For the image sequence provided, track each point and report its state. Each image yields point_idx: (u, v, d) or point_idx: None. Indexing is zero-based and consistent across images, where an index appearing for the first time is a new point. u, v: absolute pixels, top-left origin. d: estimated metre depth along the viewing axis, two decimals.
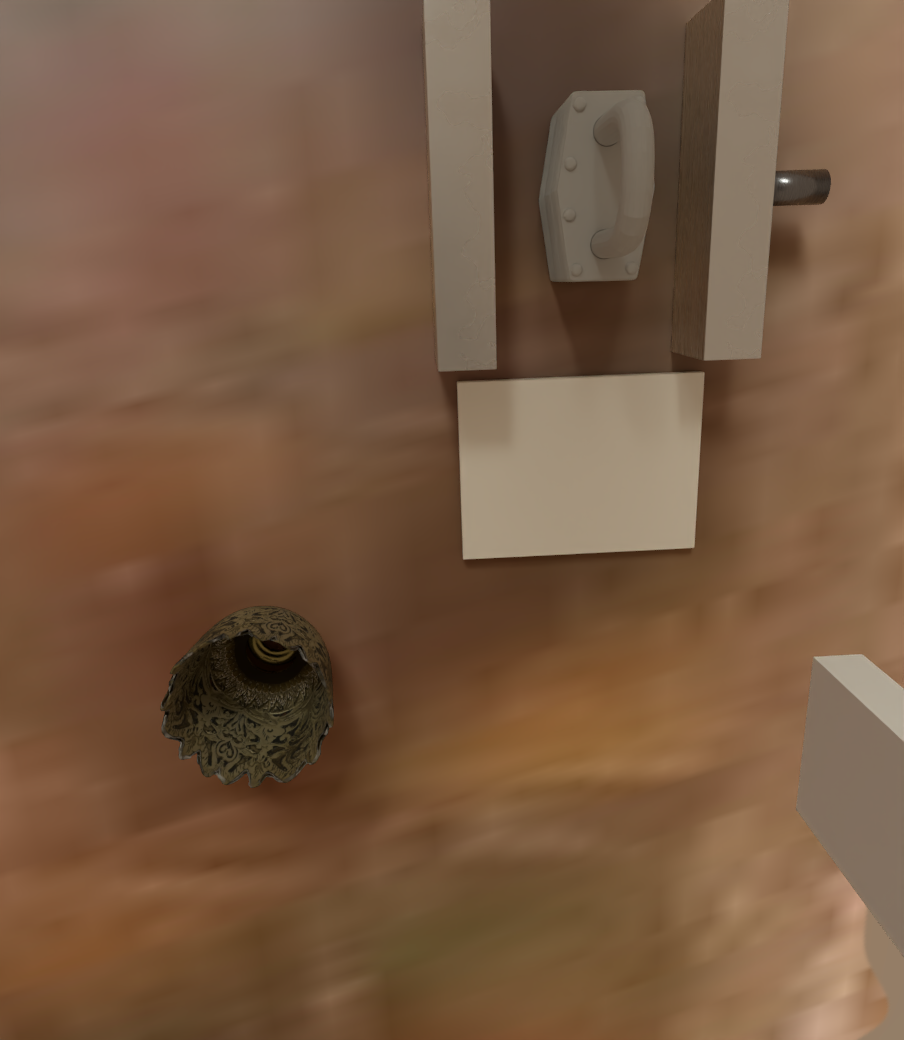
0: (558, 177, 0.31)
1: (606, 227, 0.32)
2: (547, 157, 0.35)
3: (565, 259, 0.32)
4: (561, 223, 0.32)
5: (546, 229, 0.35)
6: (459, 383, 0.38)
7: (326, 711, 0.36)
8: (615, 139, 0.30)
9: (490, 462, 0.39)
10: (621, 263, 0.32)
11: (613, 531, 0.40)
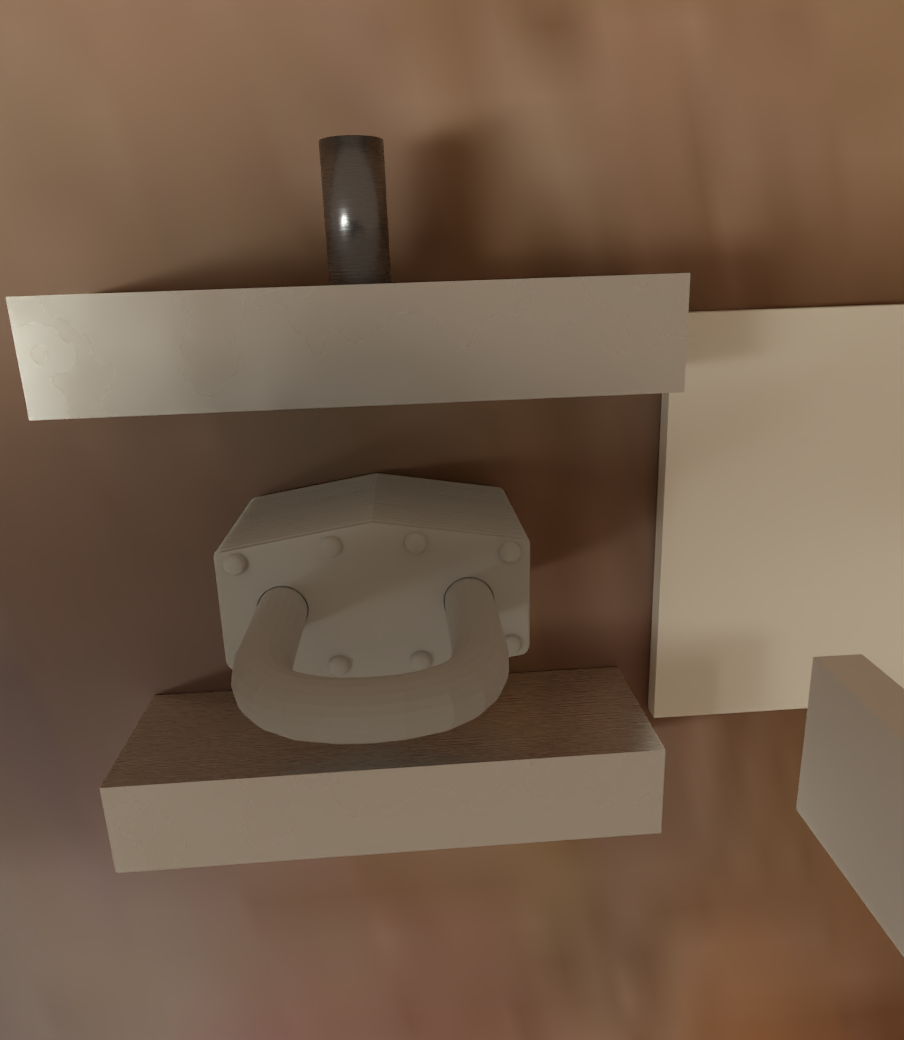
0: None
1: (440, 599, 0.18)
2: None
3: None
4: None
5: None
6: (655, 715, 0.24)
7: None
8: (299, 637, 0.16)
9: (785, 665, 0.24)
10: (501, 568, 0.18)
11: None
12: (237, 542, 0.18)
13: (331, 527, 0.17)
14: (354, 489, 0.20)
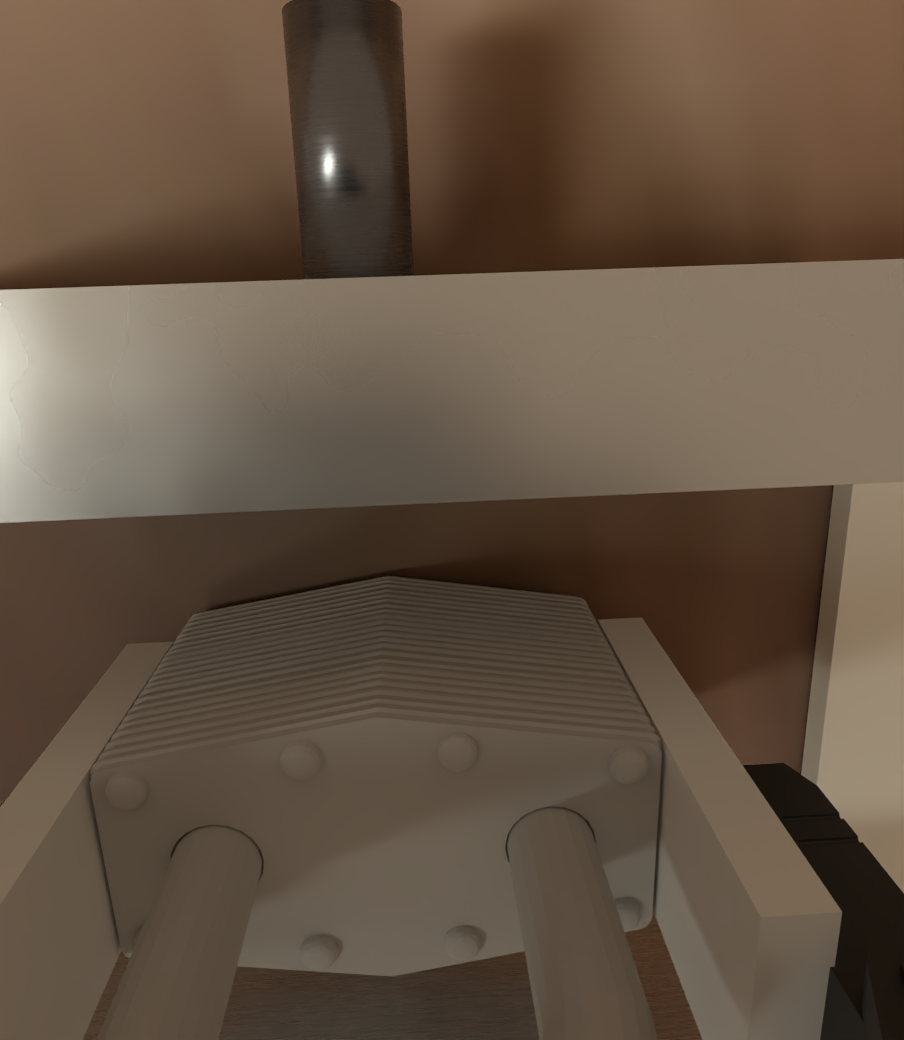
0: (358, 965, 0.11)
1: (500, 842, 0.10)
2: None
3: None
4: (485, 952, 0.11)
5: None
6: None
7: None
8: (237, 958, 0.09)
9: None
10: (611, 792, 0.10)
11: None
12: (137, 741, 0.10)
13: (303, 723, 0.10)
14: (351, 612, 0.13)
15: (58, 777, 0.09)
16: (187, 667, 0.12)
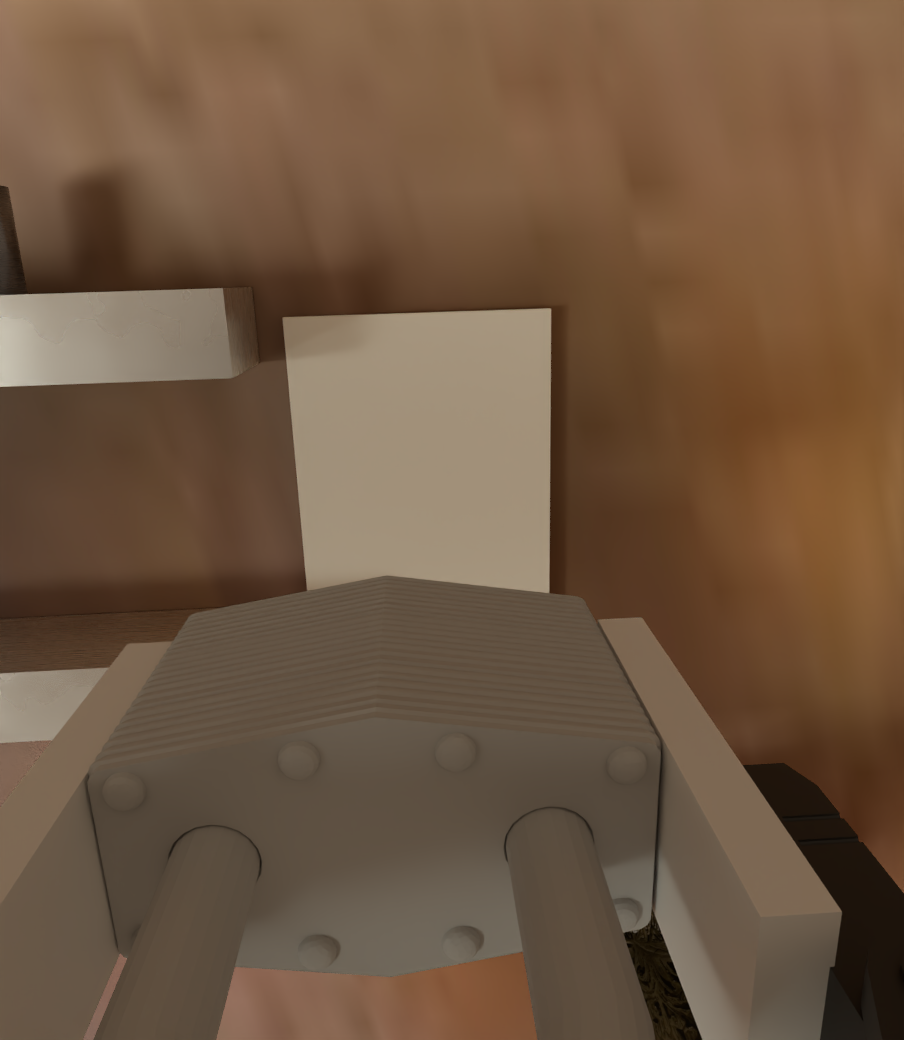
0: None
1: (498, 842, 0.10)
2: None
3: None
4: (484, 953, 0.11)
5: None
6: None
7: None
8: (234, 959, 0.09)
9: None
10: (609, 792, 0.10)
11: (519, 434, 0.28)
12: (134, 741, 0.10)
13: (301, 722, 0.10)
14: (349, 612, 0.13)
15: (58, 777, 0.09)
16: (185, 667, 0.12)
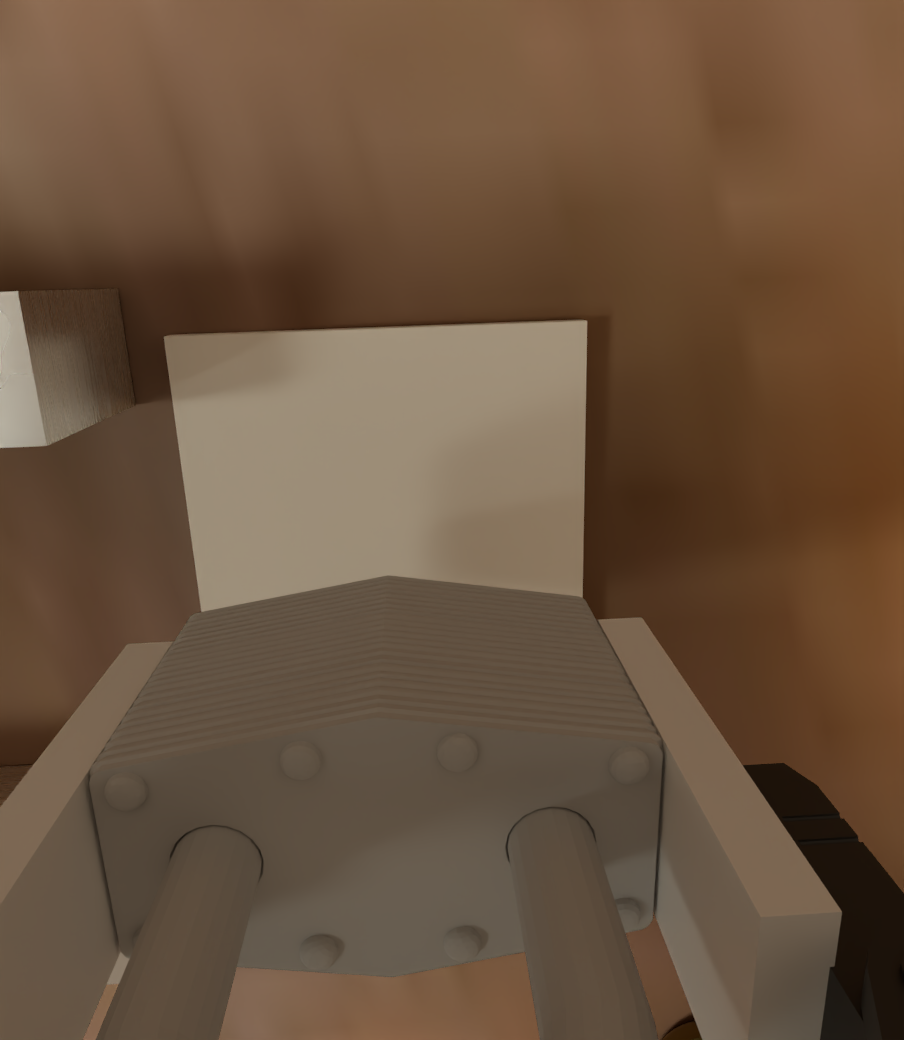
0: (358, 966, 0.11)
1: (500, 842, 0.10)
2: None
3: None
4: (486, 953, 0.11)
5: None
6: None
7: None
8: (236, 959, 0.09)
9: None
10: (611, 792, 0.10)
11: (536, 512, 0.18)
12: (136, 741, 0.10)
13: (303, 723, 0.10)
14: (350, 612, 0.13)
15: (58, 777, 0.09)
16: (187, 667, 0.12)
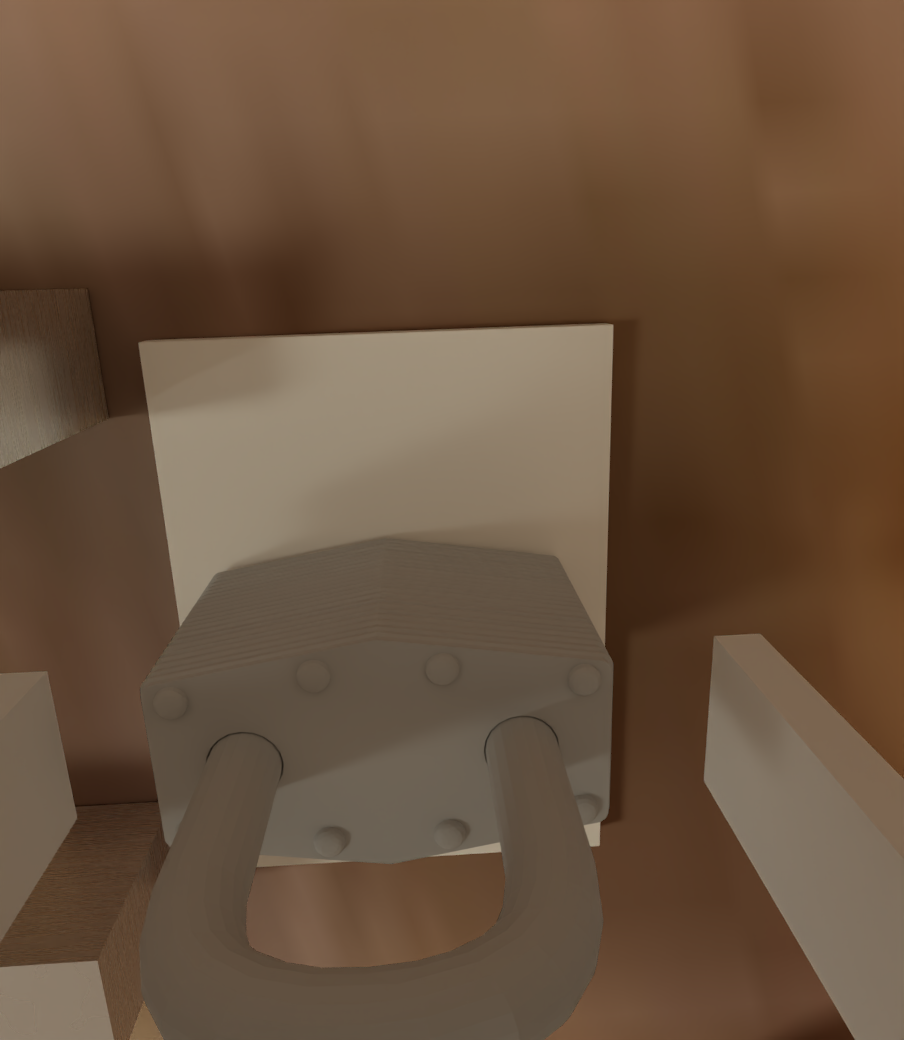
0: None
1: (479, 746, 0.12)
2: None
3: None
4: None
5: None
6: None
7: None
8: (264, 829, 0.11)
9: None
10: (571, 703, 0.12)
11: (554, 537, 0.16)
12: (177, 665, 0.12)
13: (315, 646, 0.12)
14: (353, 567, 0.15)
15: None
16: (215, 611, 0.14)
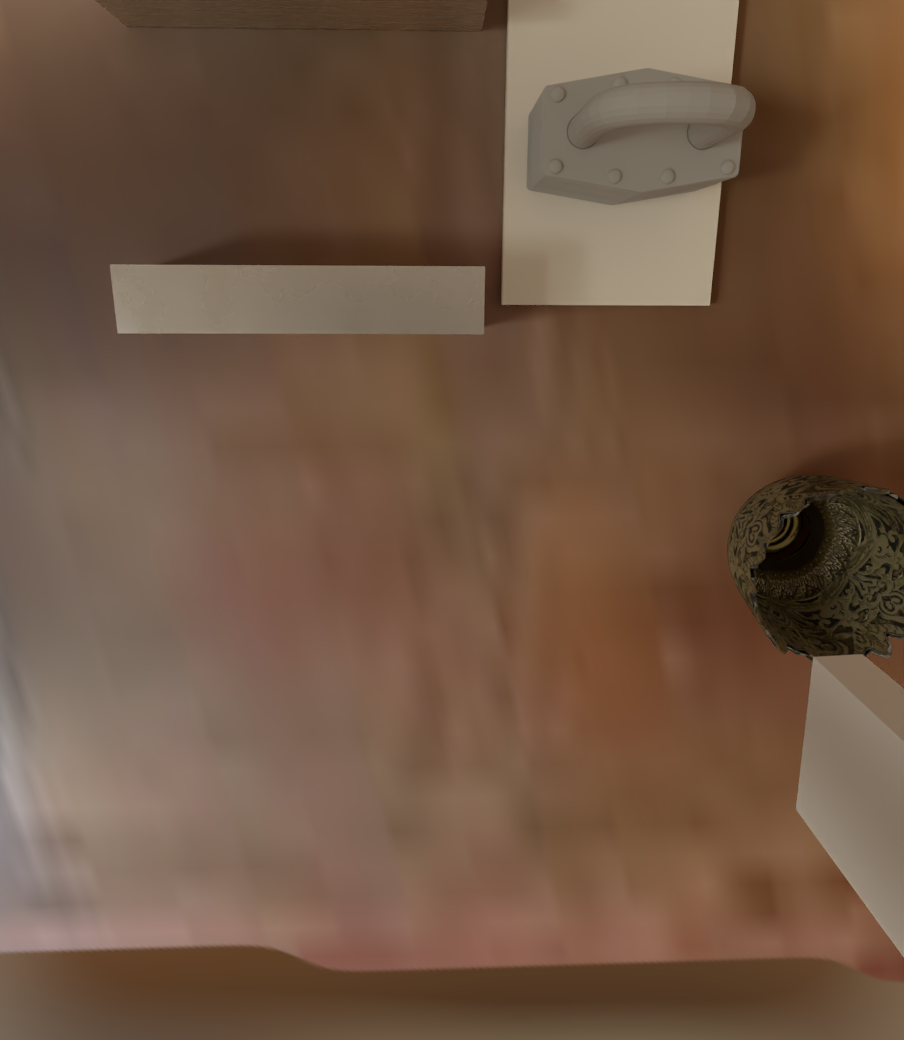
0: (626, 190, 0.28)
1: (685, 129, 0.27)
2: (572, 195, 0.32)
3: (712, 180, 0.28)
4: (674, 186, 0.28)
5: (648, 197, 0.32)
6: (503, 302, 0.34)
7: None
8: None
9: (596, 268, 0.33)
10: None
11: None
12: None
13: (620, 73, 0.27)
14: None
15: None
16: None
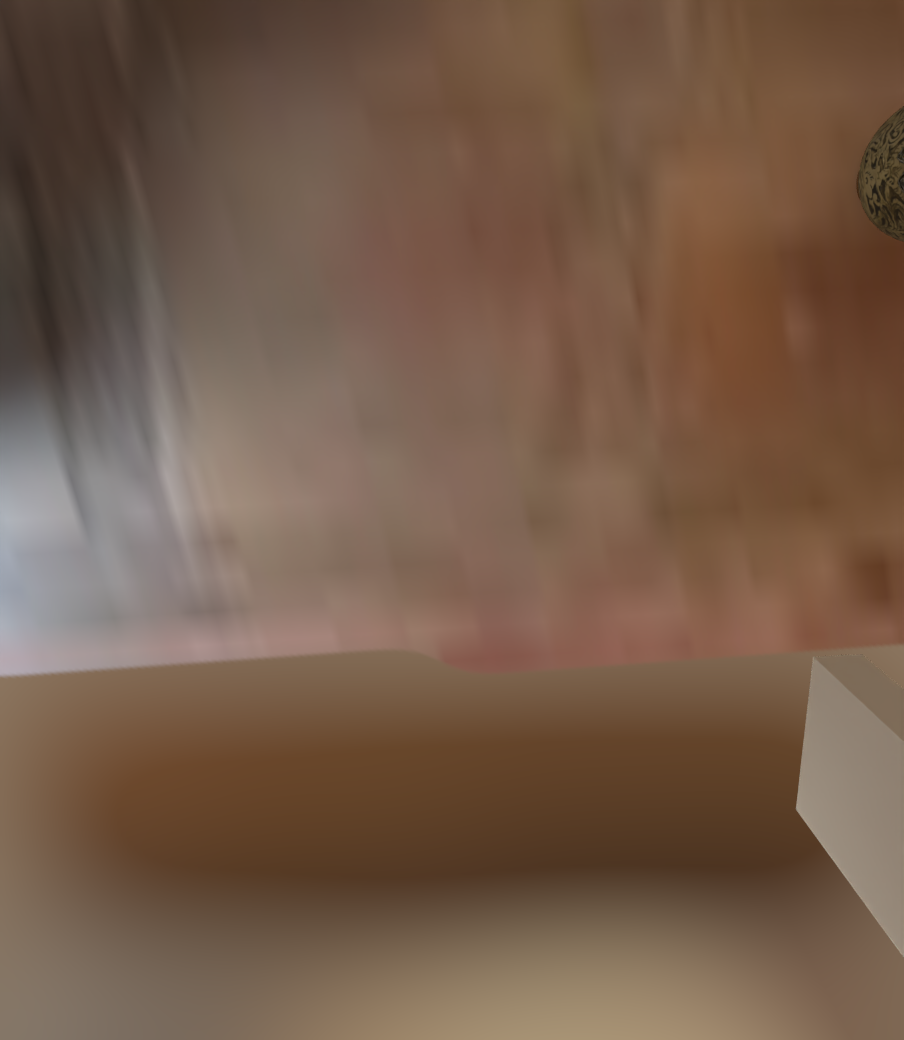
0: None
1: None
2: None
3: None
4: None
5: None
6: None
7: None
8: None
9: None
10: None
11: None
12: None
13: None
14: None
15: None
16: None
